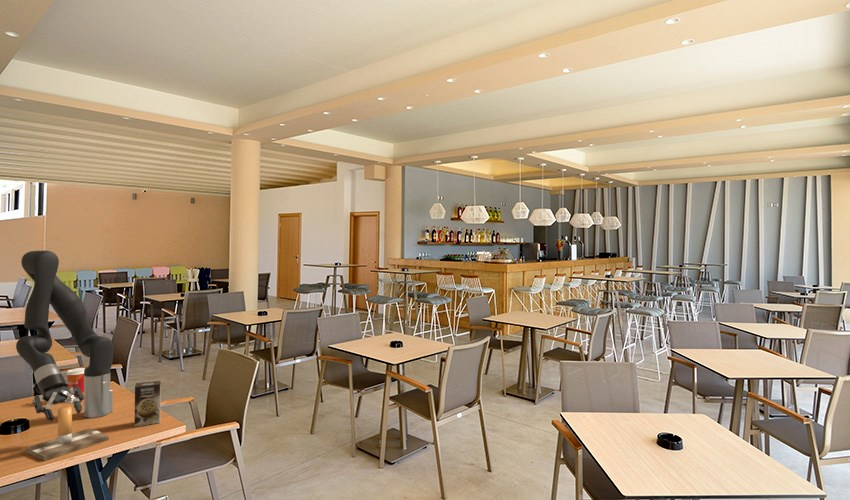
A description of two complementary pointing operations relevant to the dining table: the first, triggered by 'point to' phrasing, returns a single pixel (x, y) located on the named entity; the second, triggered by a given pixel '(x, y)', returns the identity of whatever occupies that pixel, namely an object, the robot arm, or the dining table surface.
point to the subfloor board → (78, 442)
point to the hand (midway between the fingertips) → (66, 415)
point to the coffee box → (147, 403)
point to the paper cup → (76, 379)
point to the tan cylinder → (64, 425)
